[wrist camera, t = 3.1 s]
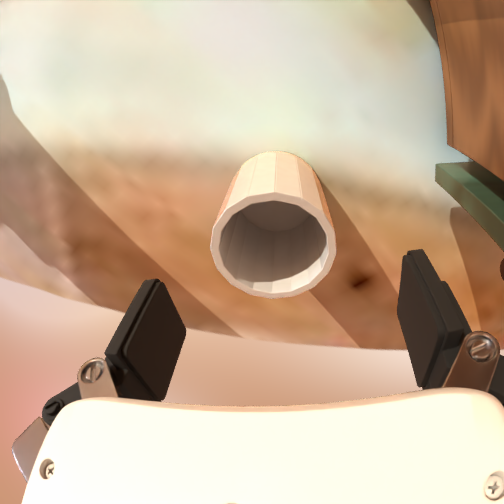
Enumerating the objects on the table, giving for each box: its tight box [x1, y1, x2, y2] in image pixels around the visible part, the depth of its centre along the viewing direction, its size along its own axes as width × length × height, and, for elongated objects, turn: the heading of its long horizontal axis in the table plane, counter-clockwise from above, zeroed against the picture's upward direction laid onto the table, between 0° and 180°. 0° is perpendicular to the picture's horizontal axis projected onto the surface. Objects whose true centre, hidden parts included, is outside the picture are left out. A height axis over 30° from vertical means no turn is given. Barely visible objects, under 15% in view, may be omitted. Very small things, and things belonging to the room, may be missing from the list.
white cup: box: [210, 151, 337, 299], centre depth 16 cm, size 6×6×6 cm
